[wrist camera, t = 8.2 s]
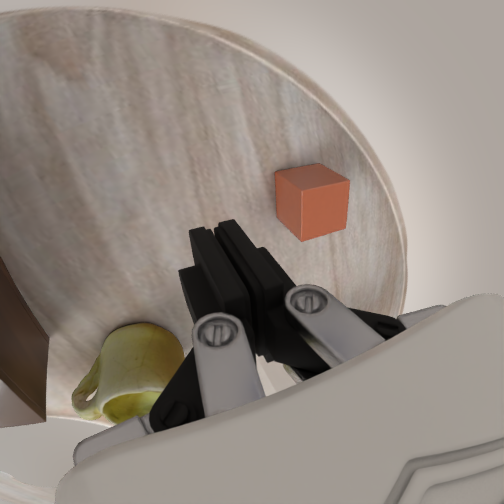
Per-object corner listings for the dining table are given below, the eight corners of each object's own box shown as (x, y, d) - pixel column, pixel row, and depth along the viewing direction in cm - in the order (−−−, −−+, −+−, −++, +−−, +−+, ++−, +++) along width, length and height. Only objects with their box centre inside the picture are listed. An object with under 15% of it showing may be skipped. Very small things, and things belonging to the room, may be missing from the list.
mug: (199, 313, 28) (205, 420, 21) (187, 355, 35) (191, 436, 29) (69, 300, 24) (53, 406, 18) (87, 346, 32) (80, 427, 25)
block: (274, 171, 26) (301, 190, 22) (319, 162, 27) (350, 180, 23) (276, 217, 28) (301, 242, 25) (318, 206, 29) (346, 228, 26)
